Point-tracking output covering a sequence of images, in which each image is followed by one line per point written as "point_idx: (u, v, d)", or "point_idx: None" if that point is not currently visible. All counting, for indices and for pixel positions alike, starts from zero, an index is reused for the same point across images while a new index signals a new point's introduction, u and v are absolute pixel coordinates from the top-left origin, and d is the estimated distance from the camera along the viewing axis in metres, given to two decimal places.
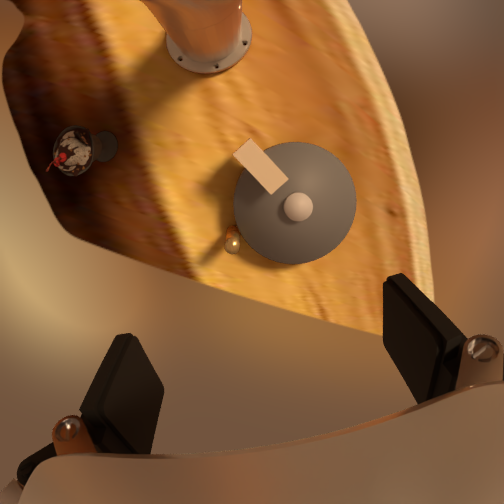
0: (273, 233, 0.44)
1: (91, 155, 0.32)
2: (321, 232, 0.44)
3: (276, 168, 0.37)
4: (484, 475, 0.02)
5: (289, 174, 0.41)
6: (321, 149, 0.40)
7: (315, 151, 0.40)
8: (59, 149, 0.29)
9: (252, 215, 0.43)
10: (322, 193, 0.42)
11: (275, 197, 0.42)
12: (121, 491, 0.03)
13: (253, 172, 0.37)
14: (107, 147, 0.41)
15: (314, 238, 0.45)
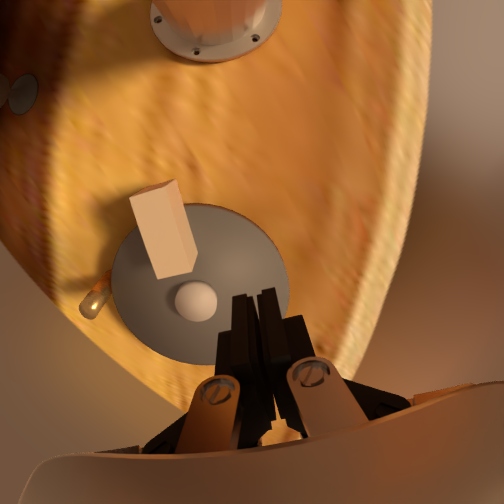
0: (151, 313, 0.30)
1: None
2: (213, 341, 0.31)
3: (181, 249, 0.23)
4: (484, 475, 0.02)
5: (204, 255, 0.28)
6: (268, 244, 0.27)
7: (258, 243, 0.27)
8: None
9: (134, 280, 0.28)
10: None
11: None
12: (121, 491, 0.03)
13: (145, 237, 0.23)
14: (23, 98, 0.23)
15: (201, 343, 0.31)
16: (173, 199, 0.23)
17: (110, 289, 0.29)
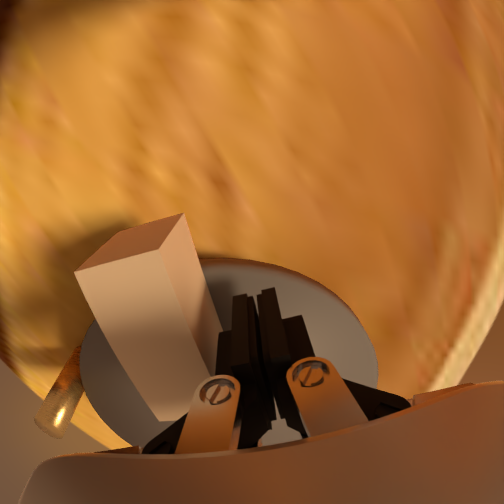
0: (152, 424, 0.16)
1: None
2: None
3: None
4: (484, 475, 0.02)
5: None
6: (359, 332, 0.14)
7: (343, 332, 0.14)
8: None
9: (117, 383, 0.15)
10: None
11: None
12: (121, 491, 0.03)
13: (123, 356, 0.09)
14: None
15: None
16: (181, 271, 0.10)
17: (82, 384, 0.16)
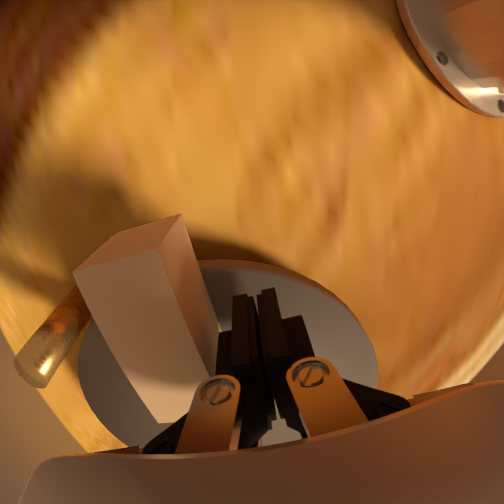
0: (151, 427, 0.16)
1: None
2: None
3: None
4: (484, 475, 0.02)
5: None
6: (359, 332, 0.14)
7: (342, 332, 0.14)
8: None
9: (116, 386, 0.15)
10: None
11: None
12: (121, 491, 0.03)
13: (122, 358, 0.09)
14: None
15: None
16: (180, 271, 0.10)
17: (78, 332, 0.14)
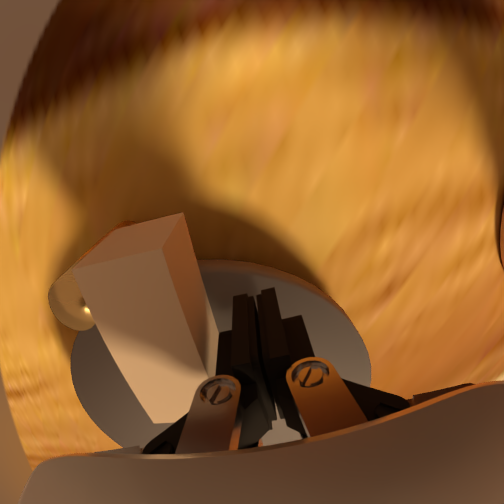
0: (143, 425, 0.16)
1: None
2: None
3: None
4: (484, 475, 0.02)
5: None
6: (354, 336, 0.14)
7: (338, 335, 0.14)
8: None
9: (109, 384, 0.15)
10: None
11: None
12: (121, 491, 0.03)
13: (120, 357, 0.09)
14: None
15: None
16: (182, 271, 0.09)
17: None
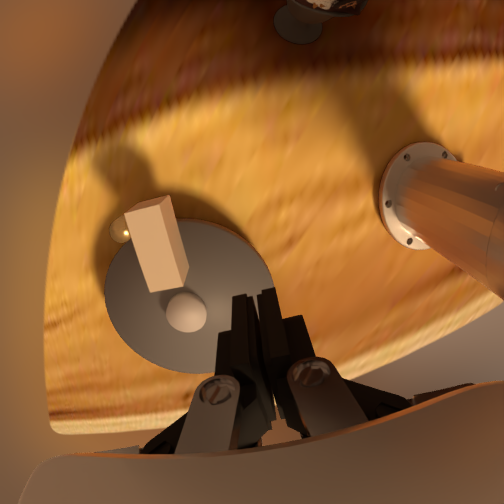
0: (143, 322, 0.30)
1: (312, 7, 0.15)
2: (202, 350, 0.32)
3: (173, 264, 0.24)
4: (484, 475, 0.02)
5: (195, 269, 0.28)
6: (257, 260, 0.28)
7: (248, 259, 0.28)
8: None
9: (126, 290, 0.29)
10: (227, 312, 0.30)
11: None
12: (121, 491, 0.03)
13: (139, 252, 0.23)
14: (297, 28, 0.23)
15: (190, 352, 0.32)
16: (166, 216, 0.24)
17: None
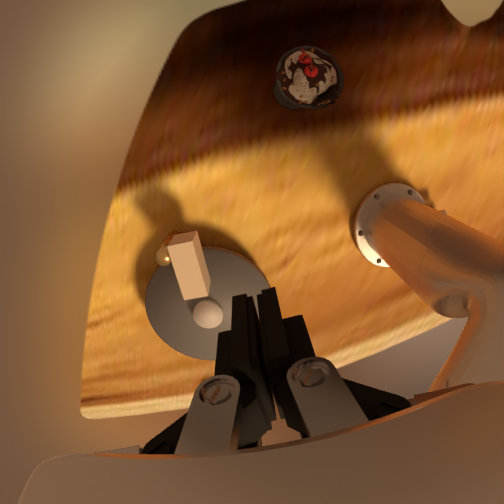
0: (174, 321, 0.41)
1: (299, 103, 0.26)
2: None
3: (201, 281, 0.35)
4: (484, 475, 0.02)
5: (215, 282, 0.39)
6: (260, 276, 0.39)
7: (253, 275, 0.39)
8: (322, 67, 0.22)
9: (163, 297, 0.40)
10: None
11: None
12: (121, 491, 0.03)
13: (177, 272, 0.34)
14: None
15: (209, 344, 0.43)
16: (196, 247, 0.35)
17: None
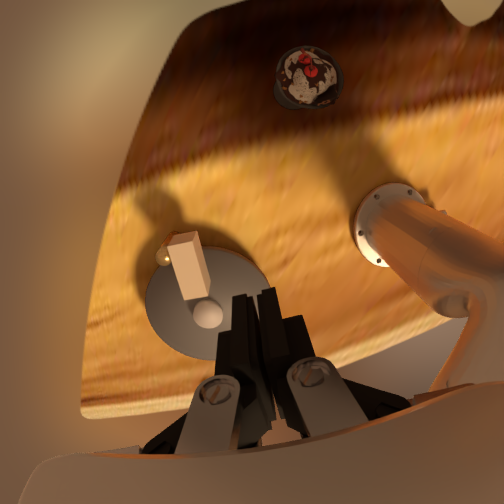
0: (174, 321, 0.41)
1: (299, 103, 0.26)
2: None
3: (201, 281, 0.35)
4: (484, 475, 0.02)
5: (215, 282, 0.39)
6: (260, 276, 0.39)
7: (253, 275, 0.39)
8: (322, 67, 0.22)
9: (163, 297, 0.40)
10: None
11: None
12: (121, 491, 0.03)
13: (177, 273, 0.34)
14: None
15: (209, 344, 0.43)
16: (196, 248, 0.35)
17: None
